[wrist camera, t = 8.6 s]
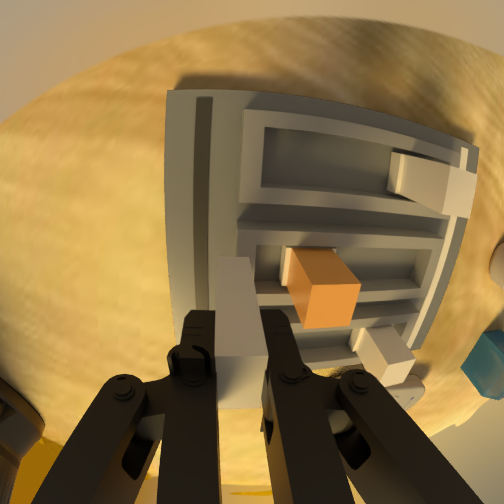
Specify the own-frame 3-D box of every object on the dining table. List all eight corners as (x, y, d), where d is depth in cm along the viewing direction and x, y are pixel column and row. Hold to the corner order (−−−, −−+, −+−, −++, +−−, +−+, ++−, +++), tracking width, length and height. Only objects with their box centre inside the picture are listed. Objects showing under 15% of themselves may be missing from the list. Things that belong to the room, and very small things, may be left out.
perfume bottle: (500, 329, 26) (544, 378, 16) (480, 361, 29) (518, 411, 18) (482, 332, 26) (531, 389, 15) (460, 367, 28) (501, 424, 17)
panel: (181, 358, 21) (178, 382, 18) (171, 93, 13) (161, 85, 11) (414, 341, 23) (427, 358, 21) (469, 145, 16) (492, 150, 13)
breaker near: (386, 189, 15) (437, 213, 11) (391, 151, 14) (446, 164, 10) (421, 195, 16) (472, 219, 11) (426, 160, 15) (480, 175, 10)
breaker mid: (278, 277, 17) (297, 329, 13) (282, 241, 16) (305, 285, 12) (324, 277, 17) (354, 325, 13) (330, 242, 16) (366, 283, 12)
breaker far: (347, 343, 20) (372, 389, 16) (356, 319, 19) (384, 365, 15) (379, 339, 20) (406, 381, 16) (388, 316, 20) (419, 357, 15)
